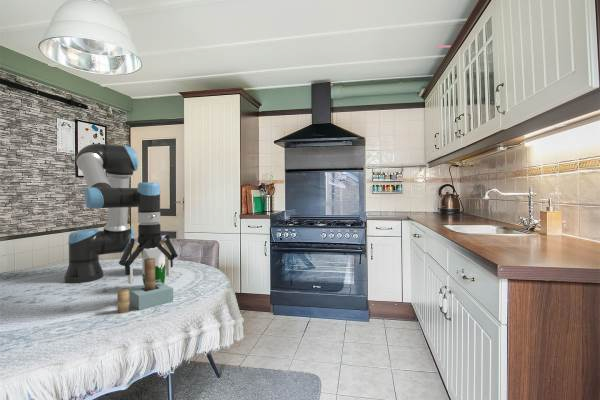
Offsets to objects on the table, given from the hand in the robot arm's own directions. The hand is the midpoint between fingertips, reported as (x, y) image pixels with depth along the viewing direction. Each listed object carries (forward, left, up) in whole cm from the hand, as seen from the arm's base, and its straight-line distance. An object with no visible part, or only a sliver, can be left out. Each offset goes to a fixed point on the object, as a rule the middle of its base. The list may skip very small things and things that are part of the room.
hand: (150, 279), depth 115 cm
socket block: (0, 0, -8) cm, 8 cm away
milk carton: (-15, +7, -8) cm, 19 cm away
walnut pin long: (0, 0, -8) cm, 8 cm away
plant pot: (-41, +18, -8) cm, 46 cm away
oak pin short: (+3, -10, -8) cm, 13 cm away
